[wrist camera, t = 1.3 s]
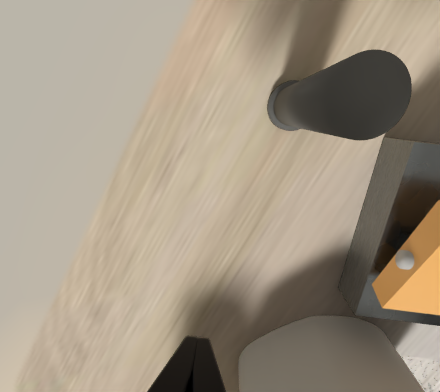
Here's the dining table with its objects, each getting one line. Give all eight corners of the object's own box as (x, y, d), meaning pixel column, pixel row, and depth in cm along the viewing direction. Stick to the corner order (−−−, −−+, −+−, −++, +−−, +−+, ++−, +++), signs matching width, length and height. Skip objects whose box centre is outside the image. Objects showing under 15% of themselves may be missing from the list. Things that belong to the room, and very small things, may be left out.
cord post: (318, 84, 16) (439, 44, 7) (308, 132, 17) (402, 156, 8) (271, 78, 16) (327, 30, 7) (263, 127, 17) (302, 144, 8)
